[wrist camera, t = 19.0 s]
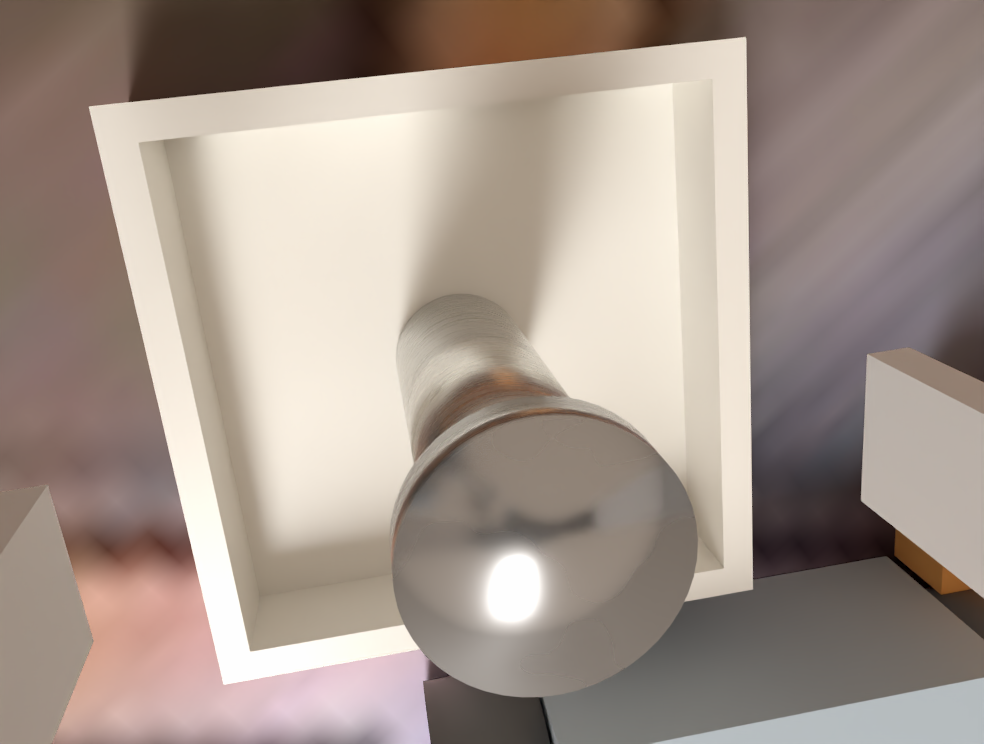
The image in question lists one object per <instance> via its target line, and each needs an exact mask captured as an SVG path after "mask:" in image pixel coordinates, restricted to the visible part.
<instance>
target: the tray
mask: <svg viewBox="0 0 984 744" xmlns="http://www.w3.org/2000/svg"><path fill="white" fill-rule="evenodd" d="M89 110H90V114H91V118H92V122H93V127H94V131H95V135H96V140H97V144H98V148H99V152H100V157H101V161H102V165H103V170H104V174H105V178H106V182H107V187H108V191H109V195H110V200H111V204H112V208H113V212H114V217H115V221H116V225H117V230H118V234H119V238H120V242H121V247H122V251H123V255H124V260H125V264H126V268H127V272H128V277H129V281H130V285H131V290H132V294H133V298H134V302H135V307H136V311H137V315H138V320H139V324H140V328H141V332H142V337H143V341H144V345H145V349H146V354H147V358H148V362H149V367H150V371H151V375H152V379H153V384H154V388H155V392H156V397H157V401H158V405H159V409H160V414H161V418H162V422H163V427H164V431H165V435H166V439H167V444H168V448H169V452H170V457H171V461H172V465H173V469H174V474H175V478H176V482H177V487H178V491H179V495H180V499H181V504H182V508H183V512H184V517H185V521H186V525H187V529H188V534H189V538H190V542H191V547H192V551H193V555H194V559H195V564H196V568H197V572H198V577H199V581H200V585H201V589H202V594H203V598H204V602H205V606H206V611H207V615H208V619H209V624H210V628H211V632H212V636H213V641H214V645H215V649H216V654H217V658H218V662H219V666H220V671H221V675H222V679H223V684H230V683H235V682H241V681H247V680H252V679H258V678H263V677H269V676H274V675H280V674H285V673H291V672H297V671H302V670H308V669H313V668H319V667H324V666H330V665H336V664H341V663H347V662H352V661H358V660H363V659H369V658H374V657H380V656H386V655H391V654H397V653H402V652H408V651H413V650H419V649H420V648H419V647H418V646H417V645H416V643H415V642H414V641H413V639H412V637H411V636H410V634H409V632H408V631H407V629H406V627H405V625H404V623H403V620H402V618H401V615H400V613H399V610H398V607H397V603H396V598H395V594H394V588H393V577H392V566H391V555H390V541H389V537H390V524H391V518H392V513H393V509H394V504H395V501H396V499H397V496H398V493H399V491H400V488H401V486H402V484H403V482H404V480H405V478H406V476H407V475H408V473H409V471H410V469H411V468H412V466H413V465H414V463H413V458H412V452H411V446H410V441H409V435H408V429H407V424H406V418H405V412H404V407H403V401H402V395H401V390H400V384H399V378H398V373H397V367H396V348H397V344H398V340H399V337H400V334H401V332H402V330H403V328H404V326H405V325H406V323H407V322H408V320H409V319H410V318H411V317H412V316H413V315H414V313H415V312H417V311H418V310H419V309H420V308H421V307H423V306H424V305H426V304H427V303H429V302H431V301H433V300H435V299H437V298H440V297H443V296H447V295H452V294H472V295H477V296H480V297H483V298H486V299H488V300H491V301H493V302H494V303H496V304H497V305H499V306H500V307H502V308H503V309H504V310H505V311H506V312H507V313H508V314H509V315H510V316H511V318H512V319H513V320H514V322H515V323H516V324H517V326H518V327H519V328H520V330H521V331H522V333H523V334H524V335H525V337H526V338H527V339H528V341H529V342H530V344H531V345H532V346H533V348H534V349H535V350H536V352H537V353H538V355H539V356H540V357H541V359H542V360H543V361H544V363H545V364H546V366H547V367H548V368H549V370H550V371H551V372H552V374H553V375H554V377H555V378H556V379H557V381H558V382H559V383H560V385H561V386H562V388H563V389H564V390H565V392H566V393H567V394H568V396H569V397H570V398H573V399H579V400H583V401H586V402H589V403H592V404H595V405H598V406H601V407H603V408H605V409H607V410H609V411H611V412H613V413H615V414H617V415H618V416H620V417H621V418H623V419H624V420H626V421H627V422H629V423H630V424H631V425H632V426H634V427H635V428H636V429H637V430H638V431H639V432H640V433H641V434H642V435H643V436H644V437H645V438H646V439H647V440H648V441H649V443H650V444H651V445H652V446H653V447H654V448H655V450H656V451H657V452H658V453H659V454H660V455H661V456H662V458H663V459H664V460H665V461H666V462H667V464H668V465H669V466H670V467H671V468H672V470H673V471H674V472H675V473H676V475H677V476H678V478H679V480H680V481H681V483H682V485H683V486H684V488H685V490H686V492H687V495H688V497H689V499H690V502H691V504H692V508H693V512H694V516H695V520H696V525H697V535H698V551H697V562H696V567H695V573H694V577H693V580H692V583H691V586H690V589H689V592H688V595H687V597H686V599H685V601H684V602H686V601H692V600H697V599H703V598H708V597H714V596H719V595H725V594H730V593H736V592H742V591H747V590H753V546H752V466H751V385H750V304H749V223H748V143H747V62H746V37H742V38H732V39H723V40H713V41H704V42H695V43H685V44H676V45H666V46H657V47H647V48H638V49H628V50H619V51H609V52H600V53H591V54H581V55H572V56H562V57H553V58H543V59H534V60H524V61H515V62H505V63H496V64H487V65H477V66H468V67H458V68H449V69H439V70H430V71H420V72H411V73H401V74H392V75H383V76H373V77H364V78H354V79H345V80H335V81H326V82H316V83H307V84H297V85H288V86H279V87H269V88H260V89H250V90H241V91H231V92H222V93H212V94H203V95H193V96H184V97H175V98H165V99H156V100H146V101H137V102H127V103H118V104H108V105H99V106H89Z"/></svg>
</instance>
